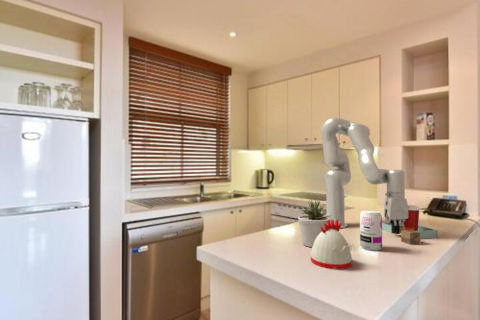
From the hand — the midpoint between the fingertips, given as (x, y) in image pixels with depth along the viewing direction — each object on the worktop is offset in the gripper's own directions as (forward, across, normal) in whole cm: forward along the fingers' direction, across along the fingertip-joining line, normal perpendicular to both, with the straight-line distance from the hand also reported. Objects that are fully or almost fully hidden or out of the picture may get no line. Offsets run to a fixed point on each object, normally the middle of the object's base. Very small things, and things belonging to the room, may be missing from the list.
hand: (395, 233), depth 133 cm
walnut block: (+1, -2, -11) cm, 11 cm away
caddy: (+1, +9, +3) cm, 10 cm away
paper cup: (+1, +8, 0) cm, 8 cm away
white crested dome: (+2, -48, -26) cm, 55 cm away
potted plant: (+2, -45, -6) cm, 45 cm away
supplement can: (+1, -24, -15) cm, 28 cm away
